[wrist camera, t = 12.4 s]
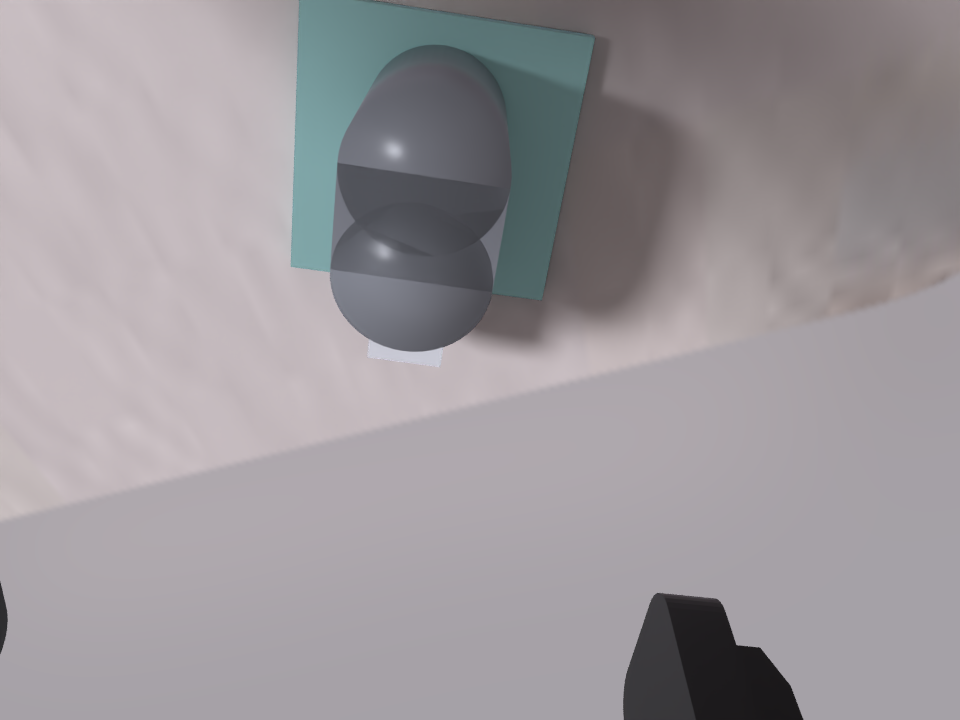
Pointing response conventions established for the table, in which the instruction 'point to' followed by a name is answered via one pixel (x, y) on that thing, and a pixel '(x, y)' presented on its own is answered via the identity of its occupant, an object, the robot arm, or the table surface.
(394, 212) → the grey lobed figure
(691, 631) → the robot arm
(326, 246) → the mat
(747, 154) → the table surface
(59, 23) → the table surface
